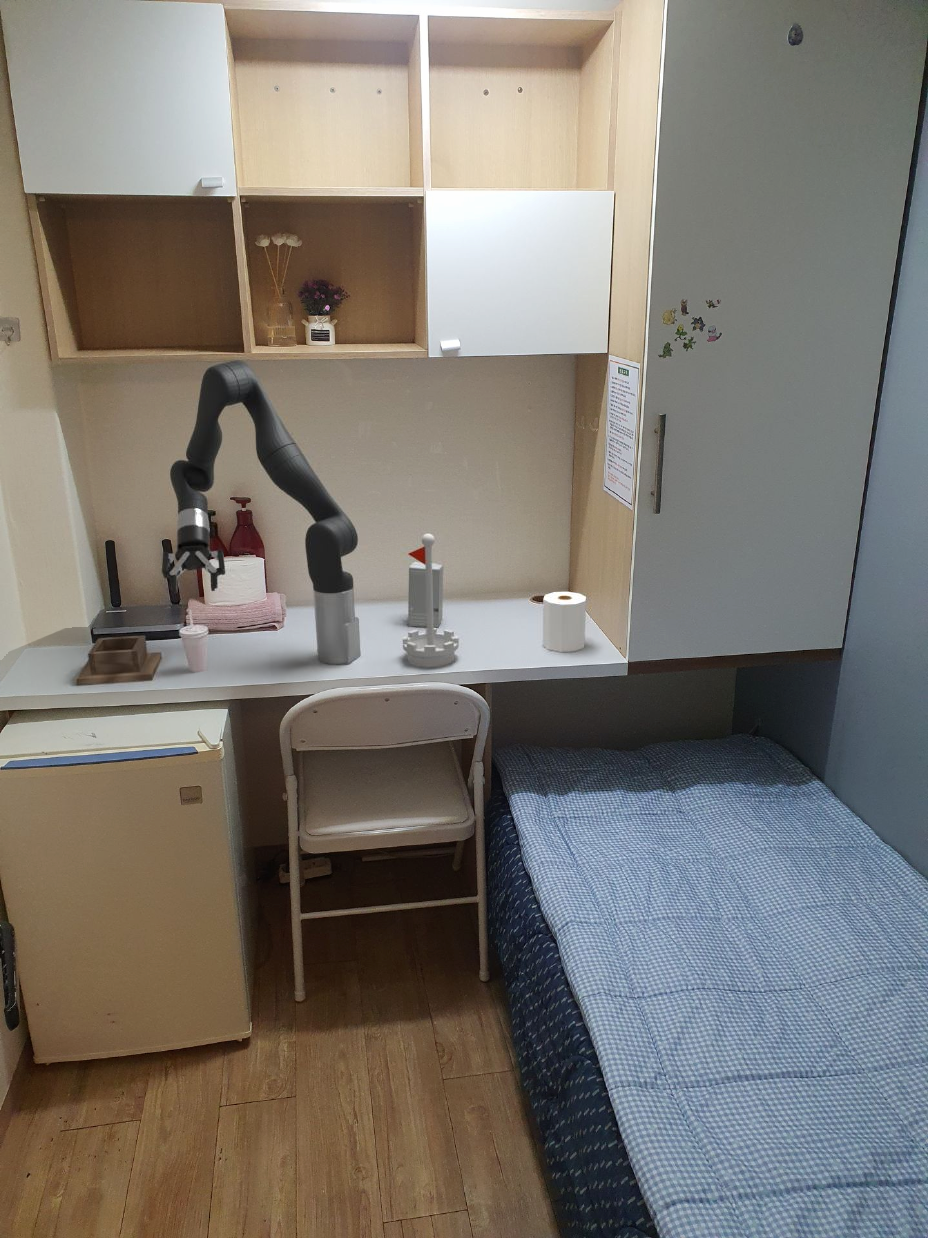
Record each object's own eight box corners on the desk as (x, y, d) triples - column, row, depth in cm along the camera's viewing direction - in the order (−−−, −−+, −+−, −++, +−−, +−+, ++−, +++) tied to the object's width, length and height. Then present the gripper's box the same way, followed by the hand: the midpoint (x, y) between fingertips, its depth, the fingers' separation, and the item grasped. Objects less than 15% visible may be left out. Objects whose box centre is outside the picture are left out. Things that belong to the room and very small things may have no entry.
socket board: (161, 657, 215) (158, 632, 213) (152, 680, 202) (148, 653, 200) (91, 662, 213) (87, 636, 210) (76, 685, 199) (72, 657, 197)
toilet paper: (587, 652, 215) (589, 603, 211) (544, 652, 215) (545, 604, 211) (582, 637, 225) (583, 590, 221) (540, 638, 225) (541, 591, 221)
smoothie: (201, 661, 212) (195, 605, 208) (218, 668, 208) (212, 610, 204) (177, 670, 207) (170, 612, 203) (194, 676, 204) (187, 617, 199)
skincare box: (408, 627, 234) (406, 567, 229) (413, 618, 241) (411, 560, 236) (440, 628, 233) (439, 568, 228) (444, 619, 239) (443, 561, 234)
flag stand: (467, 652, 216) (465, 529, 206) (445, 671, 205) (443, 542, 195) (417, 646, 221) (413, 525, 211) (393, 664, 209) (388, 538, 200)
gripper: (160, 525, 215) (159, 585, 208) (221, 521, 217) (223, 581, 210) (165, 541, 221) (165, 600, 214) (225, 538, 224) (227, 596, 217)
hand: (194, 590), depth 212 cm, fingers open, 8 cm apart
